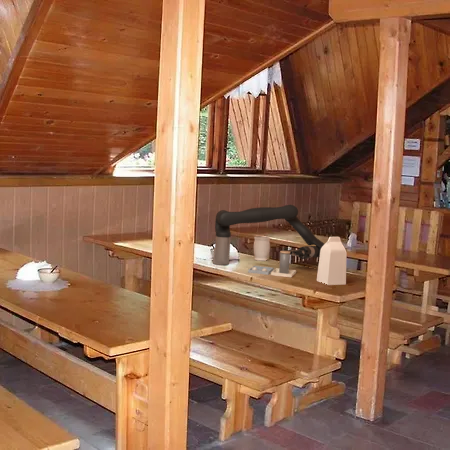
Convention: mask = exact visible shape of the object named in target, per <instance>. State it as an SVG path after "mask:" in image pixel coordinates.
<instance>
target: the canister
mask: <svg viewBox="0 0 450 450" xmlns="http://www.w3.org/2000/svg"><path fill="white" fill-rule="evenodd" d="M290 259H291V255H290V251H287V250H280V251H279V267H278V268H279V273H284V274H289V269H290Z"/></svg>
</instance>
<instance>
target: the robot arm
mask: <svg viewBox="0 0 450 450" xmlns="http://www.w3.org/2000/svg"><path fill="white" fill-rule="evenodd" d="M298 215H299V210H298V207H297V206H295V205H293V204H287V205H283V206H278V207H277V206H275V207H274V206H273V207H266V206H264V207H262V206H261V207H252V208H247V209H245V210H242V211H241V210H240V211H228V210H225V209H222V210H219V211H218V212H217V213H216V215H215V221H214V223H215V224H214V226H215V227H214V229H215V230H214V231H215V244H214V248H213V261H212V264H213V265H218V266H229V265H230V256H231V255H230V254H231V253H230V251H231V236H232V235H231V234H232V232H231V226H234V225H239V224H255V223H256V224H257V223H266V222H270V221H274V220H285V221H286V222H287V223H288V224H289V225H290V226H292V228H293V229H294V230H295V231H296V232H297V233H298V235H299V236H300V237H301V239H303V241H304V242H305V244H306V245H305V246H300V247H299V248H298V249H287V250H286V251H290V256H293V257H298V258H300V259H301V260H305V259H307V260H308V259H310V258H316V259H317V258H320V250H321V248H322V246H323V245H324V244H325V243H324V242H323V241H321V240H320V239H319V238H318V237H317V236H315V234H314V233H313V232H312V230H311V229H310V228H308V227H307V226H306V225H305V224H304V223H303V222H302V221H301V220H300V218H298Z"/></svg>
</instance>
